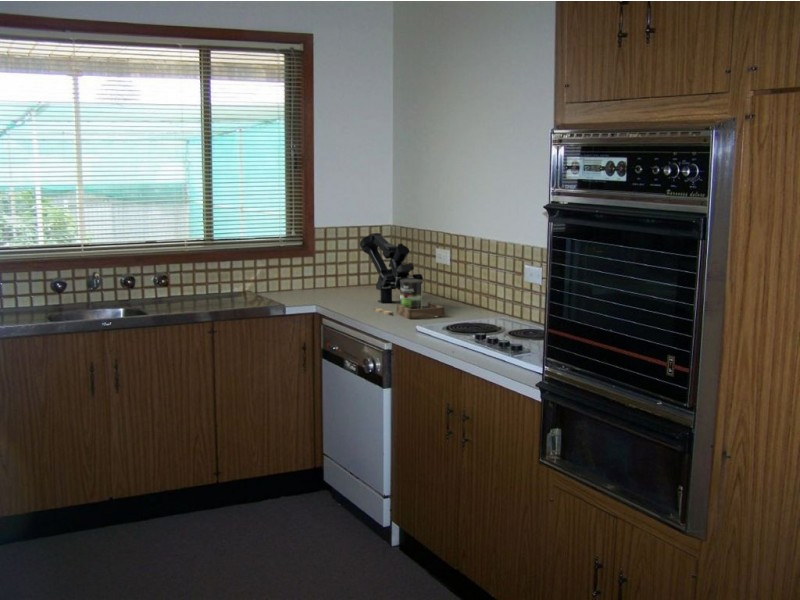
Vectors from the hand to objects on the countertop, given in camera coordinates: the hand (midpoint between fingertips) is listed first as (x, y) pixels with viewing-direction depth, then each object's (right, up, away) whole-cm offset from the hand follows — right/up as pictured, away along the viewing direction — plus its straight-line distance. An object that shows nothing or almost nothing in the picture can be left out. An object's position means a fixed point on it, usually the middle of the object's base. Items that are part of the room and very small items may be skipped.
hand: (407, 295), depth 418 cm
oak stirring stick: (-11, -8, -6) cm, 15 cm away
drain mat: (+10, -6, +5) cm, 13 cm away
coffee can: (+2, -7, -3) cm, 8 cm away
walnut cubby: (+5, -9, -12) cm, 16 cm away
